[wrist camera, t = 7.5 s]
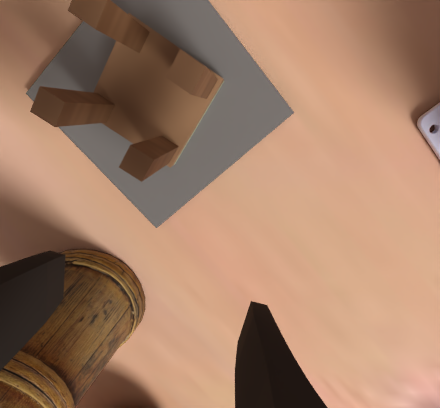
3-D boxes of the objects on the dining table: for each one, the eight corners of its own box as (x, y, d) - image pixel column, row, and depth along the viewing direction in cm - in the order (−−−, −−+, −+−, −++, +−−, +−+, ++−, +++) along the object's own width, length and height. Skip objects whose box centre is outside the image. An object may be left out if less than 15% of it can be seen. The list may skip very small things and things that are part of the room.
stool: (224, 80, 17) (213, 65, 11) (174, 164, 18) (143, 187, 13) (137, 19, 16) (77, -31, 10) (94, 112, 18) (24, 112, 12)
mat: (292, 112, 17) (294, 112, 17) (158, 225, 21) (156, 228, 20) (157, -64, 15) (155, -70, 15) (31, 93, 18) (25, 93, 18)
